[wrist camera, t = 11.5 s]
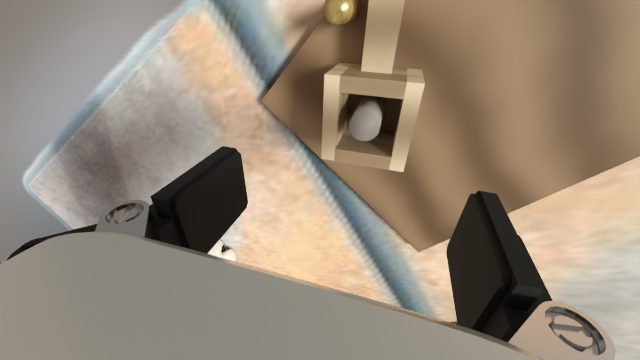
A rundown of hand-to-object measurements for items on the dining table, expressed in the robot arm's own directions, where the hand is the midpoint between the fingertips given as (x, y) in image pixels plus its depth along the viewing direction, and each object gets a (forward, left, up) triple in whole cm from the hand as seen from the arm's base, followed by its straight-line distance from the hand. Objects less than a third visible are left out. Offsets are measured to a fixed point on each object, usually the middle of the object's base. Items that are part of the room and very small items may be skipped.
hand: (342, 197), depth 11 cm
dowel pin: (+3, +6, -13) cm, 14 cm away
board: (+4, -4, -14) cm, 15 cm away
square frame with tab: (+2, +2, -13) cm, 13 cm away
